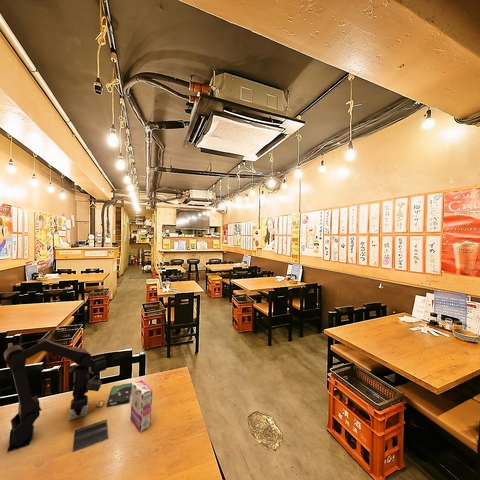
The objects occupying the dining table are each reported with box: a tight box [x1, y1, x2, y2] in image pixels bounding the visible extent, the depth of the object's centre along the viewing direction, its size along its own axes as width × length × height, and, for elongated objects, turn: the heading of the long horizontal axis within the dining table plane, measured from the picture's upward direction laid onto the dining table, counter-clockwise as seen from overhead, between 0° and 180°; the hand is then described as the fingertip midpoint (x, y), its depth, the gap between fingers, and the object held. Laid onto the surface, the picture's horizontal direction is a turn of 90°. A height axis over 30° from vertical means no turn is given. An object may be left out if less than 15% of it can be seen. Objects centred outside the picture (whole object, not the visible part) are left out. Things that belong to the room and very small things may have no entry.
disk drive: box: [106, 382, 133, 408], centre depth 122 cm, size 10×3×15 cm
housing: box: [68, 402, 89, 421], centre depth 107 cm, size 7×5×4 cm
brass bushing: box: [96, 400, 106, 408], centre depth 115 cm, size 3×3×2 cm
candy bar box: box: [130, 379, 153, 433], centre depth 105 cm, size 11×5×16 cm, turn 47°
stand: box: [72, 419, 109, 453], centre depth 97 cm, size 12×11×2 cm
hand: (78, 411), depth 107 cm, fingers closed on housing, 5 cm apart
